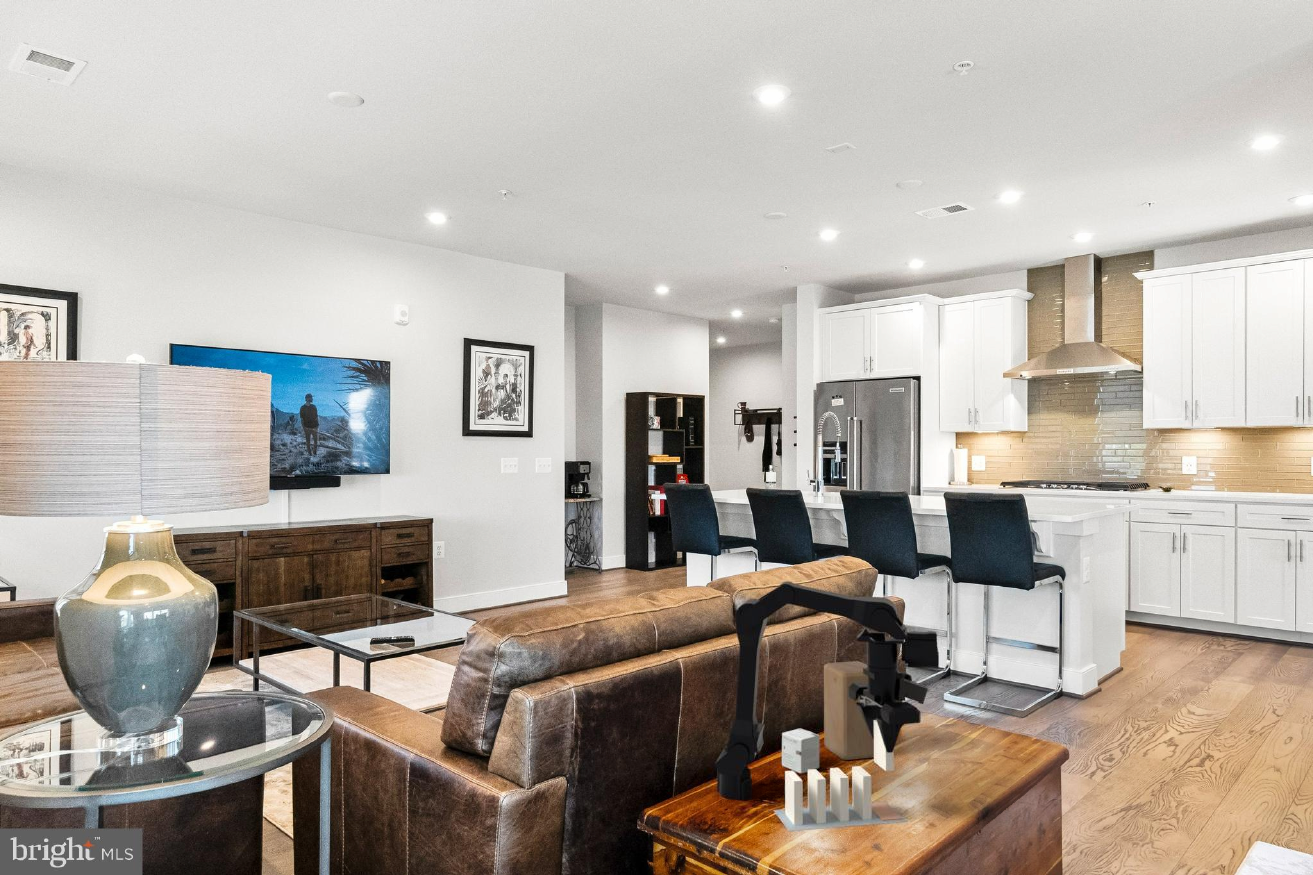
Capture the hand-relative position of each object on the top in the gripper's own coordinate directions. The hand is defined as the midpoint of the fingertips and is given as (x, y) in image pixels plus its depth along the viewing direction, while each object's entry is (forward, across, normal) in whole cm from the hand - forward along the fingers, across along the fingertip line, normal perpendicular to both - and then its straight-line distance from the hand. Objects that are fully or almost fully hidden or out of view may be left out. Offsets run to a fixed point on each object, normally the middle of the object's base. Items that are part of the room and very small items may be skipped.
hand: (883, 747), depth 156 cm
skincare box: (+13, +27, +6) cm, 31 cm away
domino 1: (+12, 0, +18) cm, 22 cm away
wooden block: (+13, +34, -8) cm, 37 cm away
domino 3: (+12, 0, +9) cm, 15 cm away
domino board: (+13, 0, +9) cm, 16 cm away
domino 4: (+12, 0, +5) cm, 13 cm away
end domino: (+4, 0, 0) cm, 4 cm away
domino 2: (+12, 0, +14) cm, 18 cm away
